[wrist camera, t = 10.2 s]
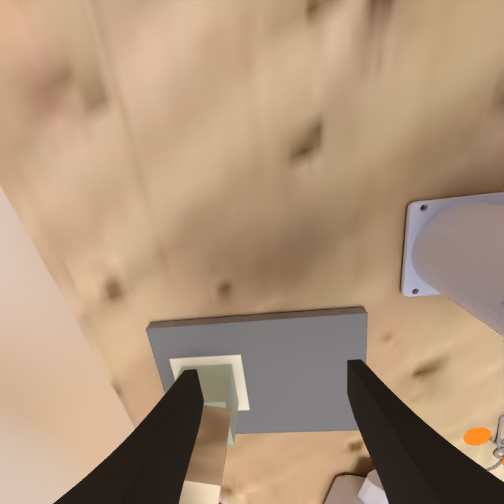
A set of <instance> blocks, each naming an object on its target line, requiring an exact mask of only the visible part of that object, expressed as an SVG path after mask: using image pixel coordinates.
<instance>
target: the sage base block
mask: <svg viewBox="0 0 504 504" xmlns="http://www.w3.org/2000/svg"><path fill="white" fill-rule="evenodd" d="M188 369H197V373H198V377H199V381H200V385H201V389H202V394H203V398H204V405H206V406H213V407H220V408H227V409H232V411H231V419H230V427H229V434H228V442H227V446H233V445H234V440H235V432H236V423H237V415H238V406H239V401H238V396H237V390H236V385H235V379H234V373H233V368H232V364H222V365H204V366H185V367H181V369H180V371H179V373H178V376H177V378H178V377H179V376H180V375H181V373H182V372H183V371H184V370H188ZM177 378H176V380H177ZM176 380H175V381H176Z"/></svg>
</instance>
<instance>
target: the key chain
mask: <svg viewBox="0 0 504 504" xmlns="http://www.w3.org/2000/svg"><path fill="white" fill-rule="evenodd" d="M503 422H504V415H502V416H500V419H499V428H498V435H497V439H496V443H494V442H493V440H492V438H493V436H492V437H491V433H490V431H489V430H488V429H486V428H474V429H471V430H469V431H468V432H467V433H466V434H465V435H464V441H465V442H466V443H467V444H470V445H480V444H483V443H485V442H487V441H488V440H489V439H490V440H491V442H492V443H493V444H495V445H497V450H495V452H494V456H495V457H496V458H499V459H500V460H499V463H497V464H496V465H494V466H492V467H490V468H489V469H486V470H487V471H491V470H493V469H495V468H497V467H498V466H499V465H501V464H503V465H504V456H498V453H499V452H501V453H503V454H504V451H503V450H504V440H502V441H501V437H500V435H501V427H502V423H503ZM500 446H501V447H500Z"/></svg>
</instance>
